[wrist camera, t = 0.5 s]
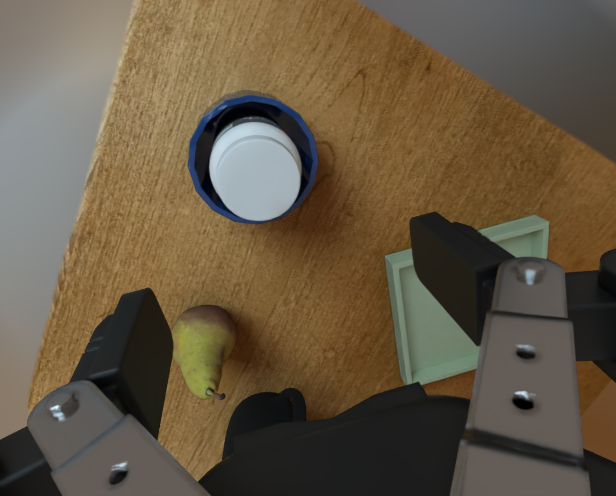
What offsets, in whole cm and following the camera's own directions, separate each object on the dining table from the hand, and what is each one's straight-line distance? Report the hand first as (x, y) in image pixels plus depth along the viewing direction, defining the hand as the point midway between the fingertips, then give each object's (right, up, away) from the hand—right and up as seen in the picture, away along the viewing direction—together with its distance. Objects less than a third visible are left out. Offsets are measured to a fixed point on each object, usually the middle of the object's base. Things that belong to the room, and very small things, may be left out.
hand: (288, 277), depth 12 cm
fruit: (-9, -6, +25) cm, 27 cm away
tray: (+17, -4, +29) cm, 34 cm away
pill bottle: (-4, +9, +19) cm, 21 cm away
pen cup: (-4, +9, +19) cm, 22 cm away
